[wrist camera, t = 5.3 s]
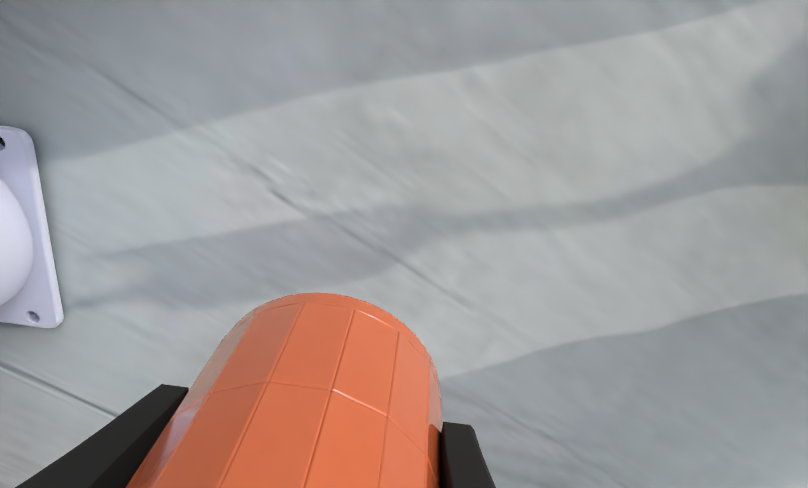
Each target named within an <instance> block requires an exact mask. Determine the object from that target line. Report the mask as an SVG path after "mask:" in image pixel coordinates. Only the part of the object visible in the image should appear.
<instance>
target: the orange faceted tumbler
mask: <svg viewBox="0 0 808 488" xmlns="http://www.w3.org/2000/svg"><path fill="white" fill-rule="evenodd" d="M441 431H442V403H441V397H440V388H439V380H438V376H437V371H436V368H435V366H434V364H433V361H432V359H431V357H430V355H429V353H428V352H427V350H426V348H425V347H424V345H423V344H422V343H421V342H420V340H419V339H418V338H417V337H416V335H415V334H414V333H413V332H412V331H411V330H410V329H409V328H408V327H407V326H406V325H404V324H403V323H402V322H400V321H399V320H398V319H396V318H395V317H394V316H392V315H391V314H389V313H387V312H385V311H384V310H382V309H380V308H378V307H376V306H374V305H371V304H369V303H367V302H364V301H361V300H358V299H355V298H351V297H347V296H342V295H337V294H328V293H302V294H296V295H290V296H285V297H282V298H278V299H275V300H272V301H270V302H268V303H265V304H263V305H261V306H259V307H257V308H256V309H254V310H252V311H251V312H249V313H248V314H246V315H245V316H244V317H243V318H242V319H241V320H239V321H238V322H237V323H236V325H235V326H234V327H233V328H232V329H231V331H230V332H229V333H228V335H226V336H225V337H224V339H223V340H222V341H221V343H220V344H219V346H218V347H217V349H216V350H215V352H214V353H213V355H212V356H211V358H210V359H209V361H208V362H207V364H206V366H205V367H204V369H203V370H202V372H201V373H200V375H199V376H198V378H197V379H196V381H195V382H194V384H193V385H192V387H191V388H190V390H189V392H188V393H187V395H186V396H185V398H184V399H183V401H182V402H181V404H180V405H179V407H178V408H177V410H176V411H175V413H174V414H173V416H172V417H171V419H170V421H169V423H168V424H167V425H166V427H165V428H164V430H163V431H162V433H161V434H160V436H159V437H158V439H157V440H156V442H155V443H154V445H153V447H152V448H151V450H150V451H149V453H148V454H147V456H146V457H145V459H144V460H143V462H142V463H141V465H140V466H139V468H138V469H137V471H136V473H135V474H134V476H133V477H132V479H131V480H130V482H129V483H128V485H127V486H126V488H442V483H441Z"/></svg>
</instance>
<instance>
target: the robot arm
mask: <svg viewBox="0 0 808 488" xmlns="http://www.w3.org/2000/svg"><path fill="white" fill-rule="evenodd" d="M0 137H1V138H2V139H3V140H4V142H5V146H3V145H2V144H1V143H0V322H4V323H11V324H18V325H25V326H32V327H40V328H47V329H53V328H55V327H57V326H58V325H59V324H60V323H61V322H62V321H63V310H62V304H61V299H60V293H59V287H58V281H57V276H56V270H55V264H54V258H53V252H52V247H51V241H50V235H49V229H48V224H47V218H46V212H45V206H44V200H43V195H42V189H41V183H40V177H39V172H38V166H37V160H36V154H35V148H34V143H33V141H32V138H31V137H30V136H29V134H28V133H27V132H25V131H24V130H22V129H19V128H16V127H8V126H1V125H0ZM34 312H35V313H36V314H37V315H38V316H39V317H38V316H37V315H35V314H34ZM188 392H189V390H188V388H187V387H179V386H172V385H164V384H161V385H160V386H159V387H157V388H156V389H155V390H153V391H152V392H150V393H149V394H148V395H146V396H145V397H144V398H142V399H141V400H139V401H138V402H137V403H135V404H134V405H133V406H131V407H130V408H129V409H127V410H126V411H125V412H123V413H122V414H121V415H119V416H118V417H117V418H115V419H114V420H113V421H111V422H110V423H109V424H107V425H106V426H105V427H103V428H102V429H100V430H99V431H98V432H96V433H95V434H94V435H92V436H91V437H89V438H88V439H87V440H85V441H84V442H82V443H81V444H80V445H78V446H77V447H75V448H74V449H73V450H71V451H70V452H68V453H67V454H65V455H64V456H62V457H61V458H59V459H58V460H56V461H55V462H53V463H52V464H50V465H49V466H47V467H46V468H44V469H43V470H41V471H40V472H39V473H37V474H36V475H34V476H33V477H31V478H30V479H28V480H27V481H25V482H23V483H22V484H20V485H19V486H17V487H15V488H126V486H127V485H128V483H129V482H130V480H131V479H132V477H133V476H134V474H135V473H136V471H137V469H138V468H139V466H140V465H141V463H142V462H143V460H144V459H145V457H146V456H147V454H148V453H149V451H150V450H151V448H152V447H153V445H154V443H155V442H156V440H157V439H158V437H159V436H160V434H161V433H162V431H163V430H164V428H165V427H166V425H167V424H168V423H169V421H170V419H171V417H172V416H173V414H174V413H175V411H176V410H177V408H178V407H179V405H180V404H181V402H182V401H183V399H184V398H185V396H186V395H187V393H188ZM441 483H442V488H496V487H495V485H494V482H493V480H492V478H491V475H490V473H489V470H488V468H487V465H486V463H485V460H484V458H483V455H482V452H481V449H480V447H479V444H478V441H477V438H476V434H475V431H474V429H473V428H472V427H471V425H465V424H457V423H450V422H443V426H442V431H441Z"/></svg>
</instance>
